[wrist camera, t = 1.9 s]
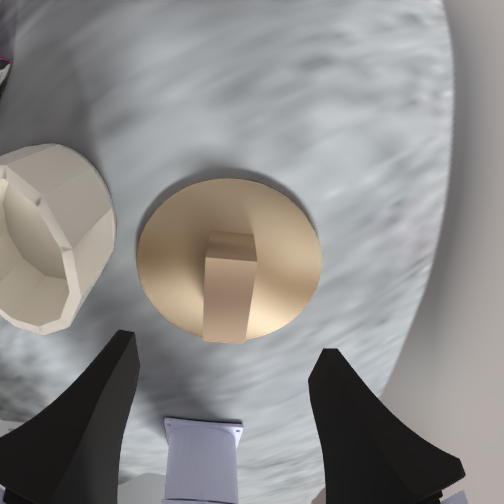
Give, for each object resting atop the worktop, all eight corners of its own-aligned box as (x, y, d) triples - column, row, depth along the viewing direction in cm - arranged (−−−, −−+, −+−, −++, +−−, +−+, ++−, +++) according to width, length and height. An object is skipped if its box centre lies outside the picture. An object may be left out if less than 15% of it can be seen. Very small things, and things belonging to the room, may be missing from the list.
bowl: (121, 290, 16) (94, 348, 12) (17, 271, 15) (-19, 313, 11) (117, 142, 12) (65, 163, 8) (-1, 147, 11) (-56, 170, 7)
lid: (297, 335, 19) (306, 375, 16) (147, 324, 18) (135, 363, 15) (336, 189, 15) (362, 213, 11) (138, 170, 14) (111, 189, 10)
